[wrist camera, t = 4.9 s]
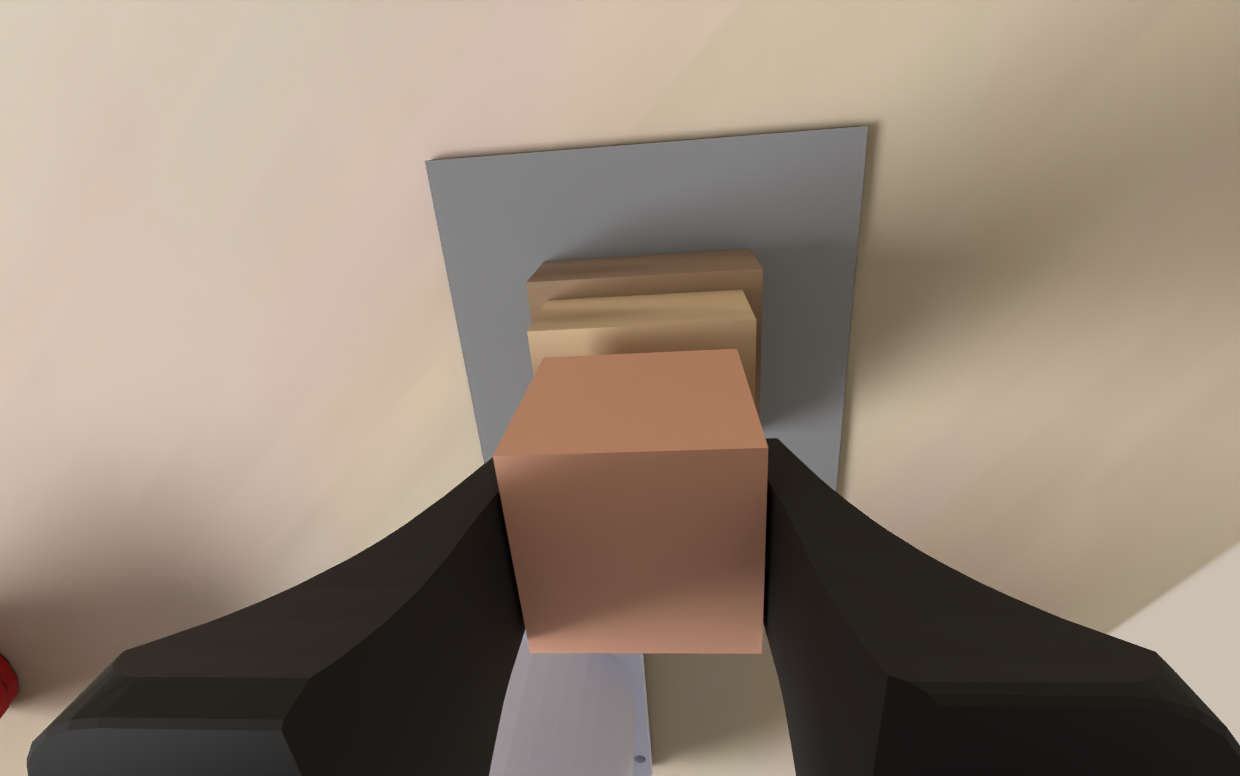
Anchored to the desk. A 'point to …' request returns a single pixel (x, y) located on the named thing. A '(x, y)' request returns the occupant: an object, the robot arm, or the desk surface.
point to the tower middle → (646, 326)
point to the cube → (638, 504)
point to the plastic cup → (7, 686)
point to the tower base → (653, 281)
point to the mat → (666, 224)
